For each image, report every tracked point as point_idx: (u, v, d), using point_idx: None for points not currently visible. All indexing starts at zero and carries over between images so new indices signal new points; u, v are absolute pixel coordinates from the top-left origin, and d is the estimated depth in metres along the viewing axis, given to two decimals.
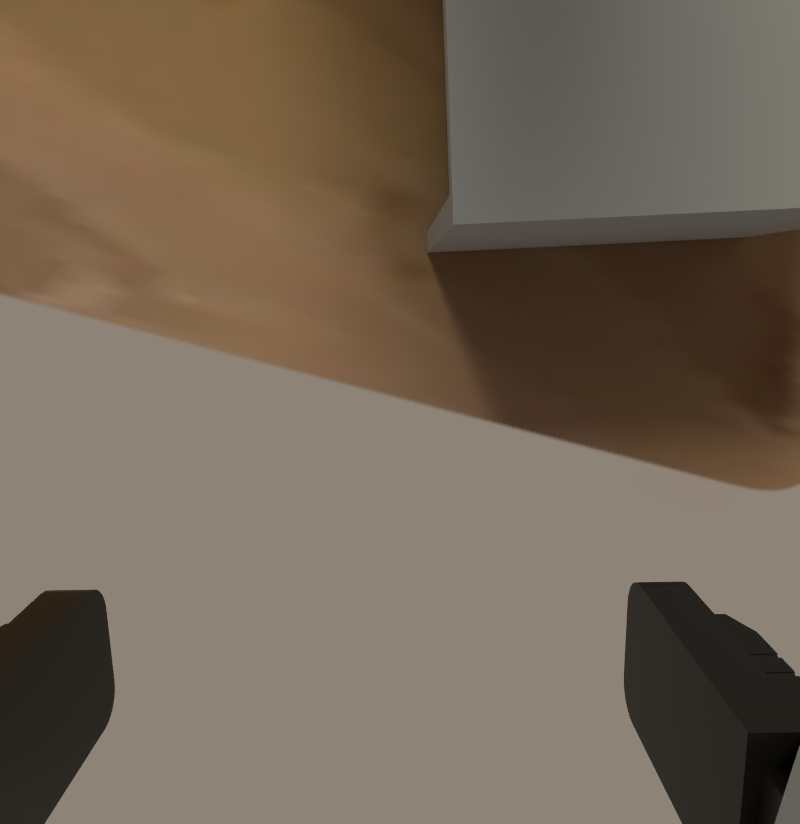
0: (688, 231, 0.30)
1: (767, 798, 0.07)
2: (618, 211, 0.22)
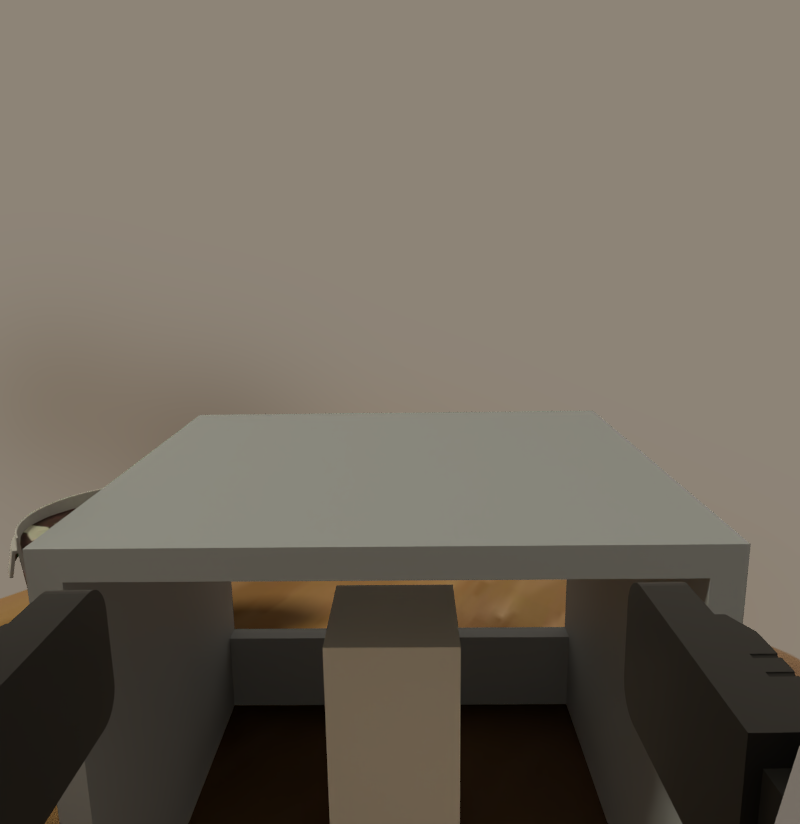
0: None
1: (767, 798, 0.07)
2: (676, 485, 0.24)
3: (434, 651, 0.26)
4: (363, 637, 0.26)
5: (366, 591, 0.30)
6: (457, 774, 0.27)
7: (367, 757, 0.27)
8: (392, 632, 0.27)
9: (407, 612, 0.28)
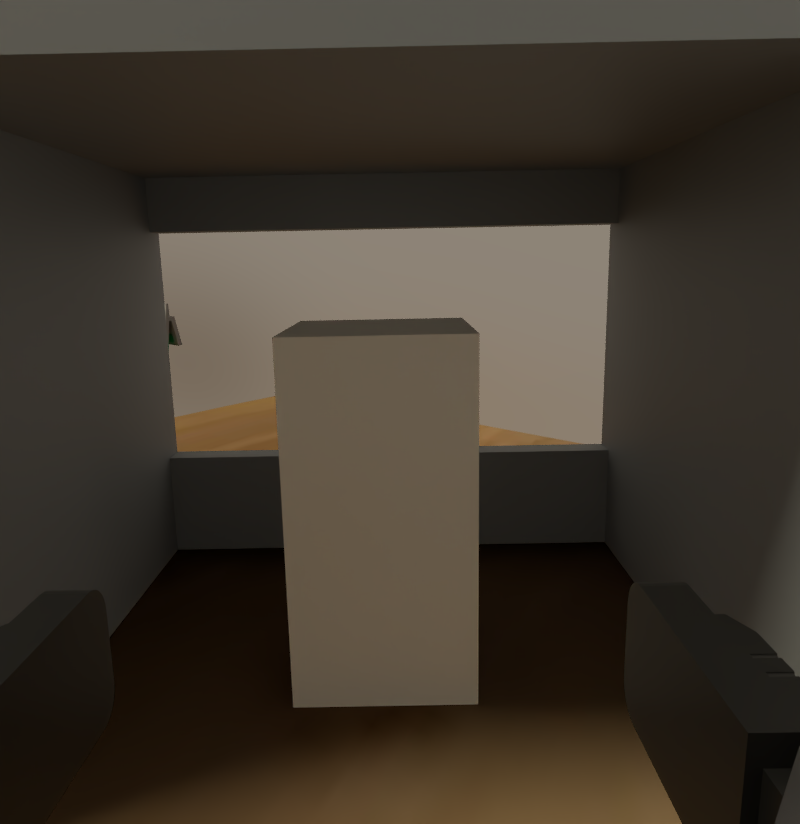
0: None
1: (767, 798, 0.07)
2: None
3: (440, 340, 0.17)
4: (333, 333, 0.18)
5: (342, 321, 0.21)
6: (474, 540, 0.18)
7: (341, 514, 0.18)
8: (376, 331, 0.18)
9: (400, 325, 0.20)
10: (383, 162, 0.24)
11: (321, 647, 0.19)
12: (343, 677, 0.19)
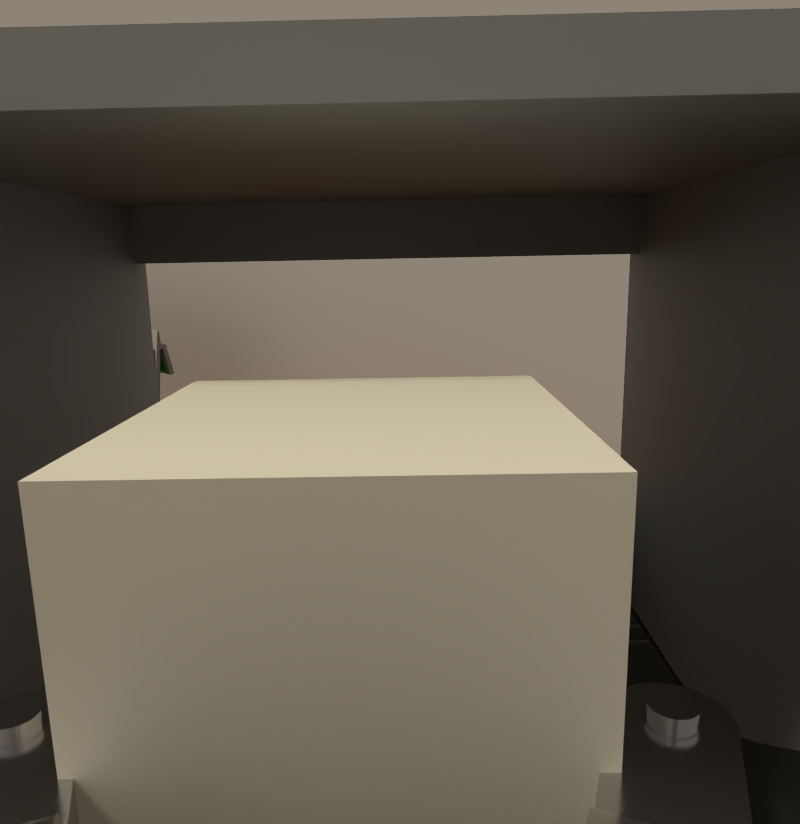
0: None
1: None
2: None
3: (518, 490, 0.06)
4: (215, 455, 0.06)
5: (278, 385, 0.10)
6: None
7: None
8: (338, 444, 0.07)
9: (400, 410, 0.08)
10: (385, 192, 0.22)
11: None
12: None
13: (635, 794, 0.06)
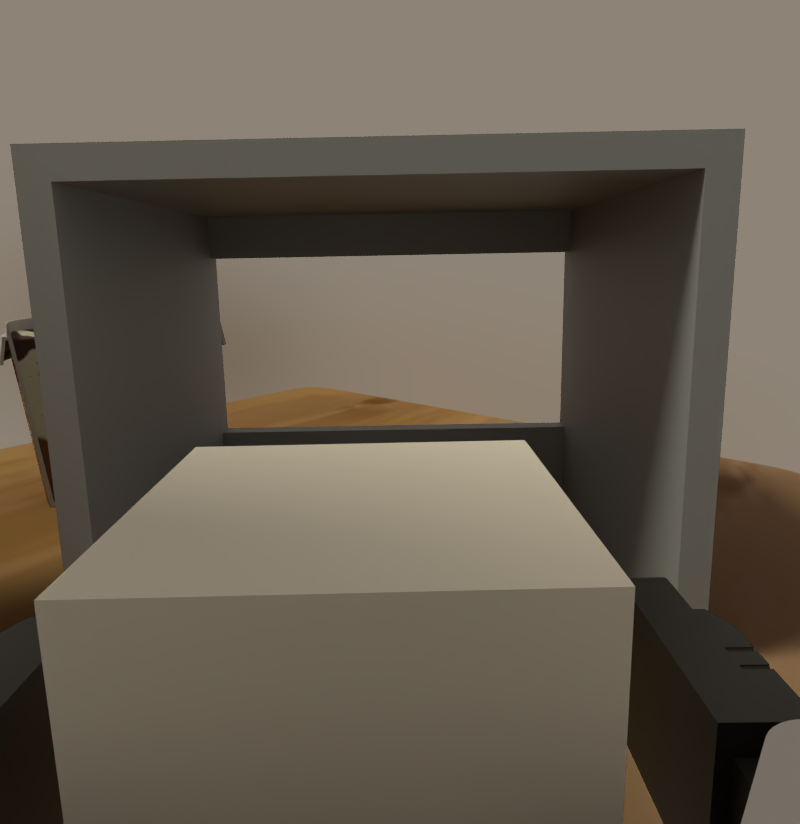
0: None
1: (736, 787, 0.07)
2: None
3: (521, 604, 0.06)
4: (225, 560, 0.07)
5: (278, 455, 0.10)
6: None
7: None
8: (344, 544, 0.07)
9: (400, 492, 0.08)
10: (390, 209, 0.32)
11: None
12: None
13: None
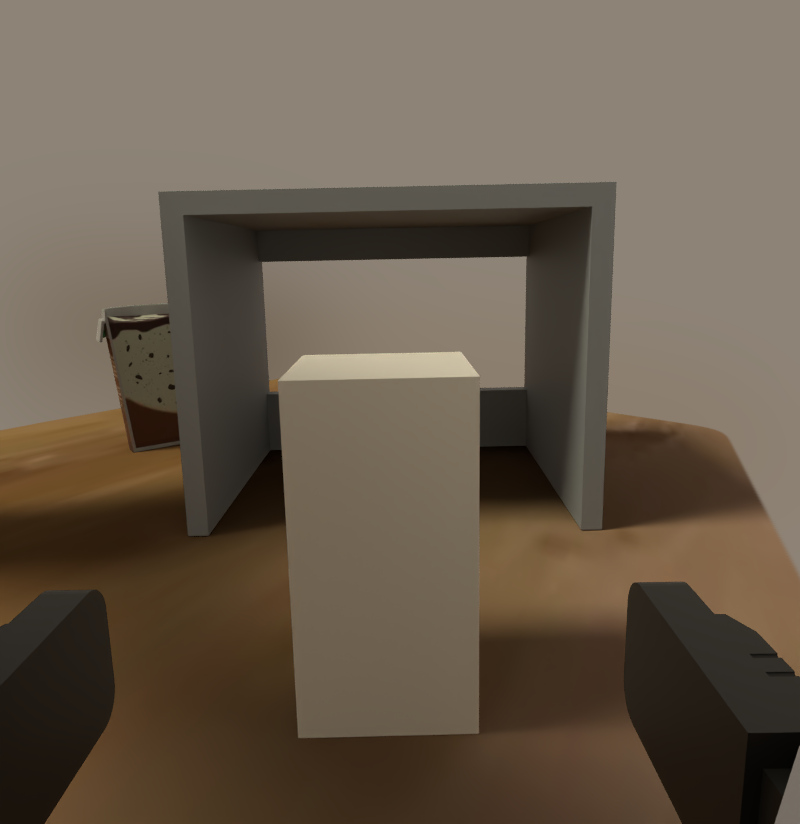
0: None
1: (767, 798, 0.07)
2: None
3: (441, 382, 0.18)
4: (337, 375, 0.18)
5: (343, 356, 0.22)
6: (475, 575, 0.19)
7: (345, 551, 0.18)
8: (379, 372, 0.19)
9: (401, 363, 0.20)
10: (394, 225, 0.44)
11: (325, 679, 0.19)
12: (347, 708, 0.19)
13: None
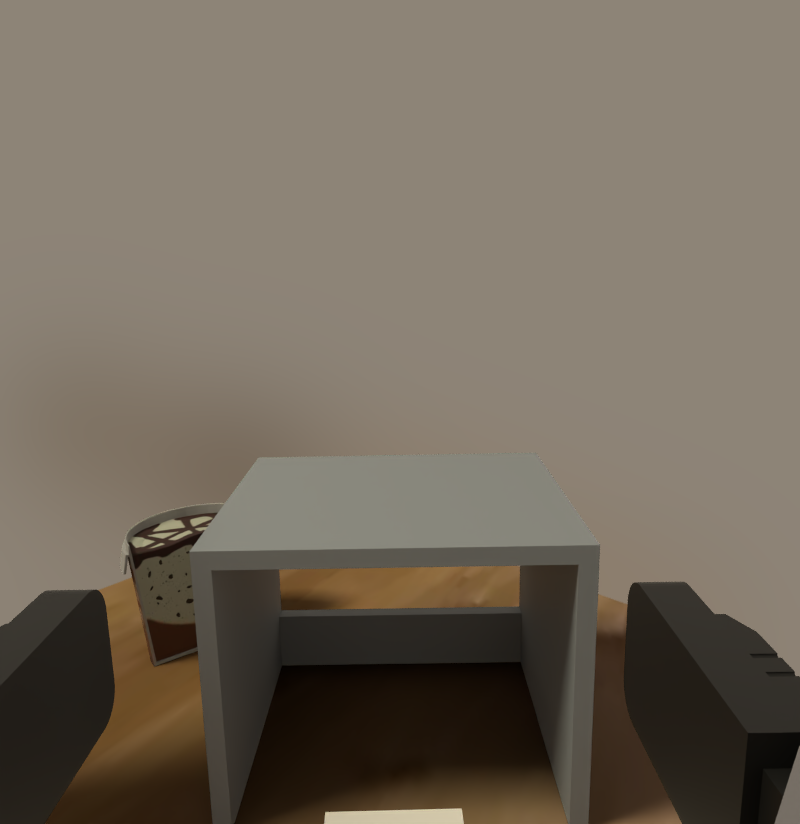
0: None
1: (767, 798, 0.07)
2: (572, 509, 0.39)
3: None
4: None
5: (361, 823, 0.25)
6: None
7: None
8: None
9: None
10: None
11: None
12: None
13: None
